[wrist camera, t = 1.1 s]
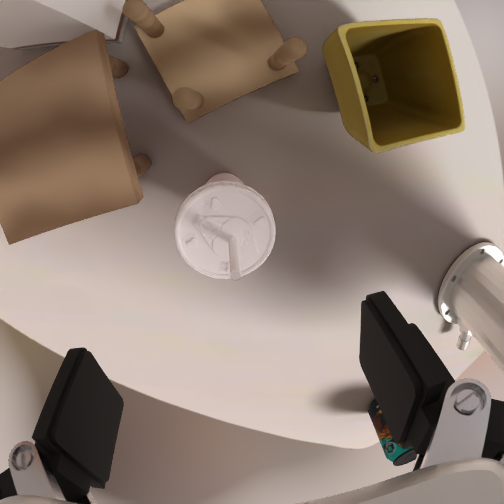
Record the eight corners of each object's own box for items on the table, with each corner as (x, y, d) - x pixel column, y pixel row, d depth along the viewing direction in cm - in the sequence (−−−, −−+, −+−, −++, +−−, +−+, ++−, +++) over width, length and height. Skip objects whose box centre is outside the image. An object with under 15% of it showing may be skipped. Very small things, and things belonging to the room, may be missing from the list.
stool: (162, 174, 27) (137, 203, 19) (54, 208, 27) (9, 244, 19) (132, 48, 21) (95, 29, 14) (24, 98, 21) (-32, 104, 14)
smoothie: (236, 237, 30) (247, 337, 17) (176, 205, 28) (141, 290, 16) (273, 180, 28) (315, 248, 15) (211, 144, 26) (198, 182, 13)
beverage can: (397, 381, 43) (427, 439, 32) (408, 396, 46) (434, 448, 35) (360, 404, 45) (383, 463, 34) (375, 417, 47) (396, 470, 37)
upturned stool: (295, 73, 24) (325, 60, 16) (189, 122, 25) (174, 129, 17) (243, -19, 19) (252, -62, 12) (138, 31, 21) (105, 4, 13)
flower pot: (408, 119, 26) (468, 131, 18) (329, 138, 26) (372, 155, 18) (385, 34, 22) (441, 18, 14) (301, 47, 23) (335, 24, 15)
